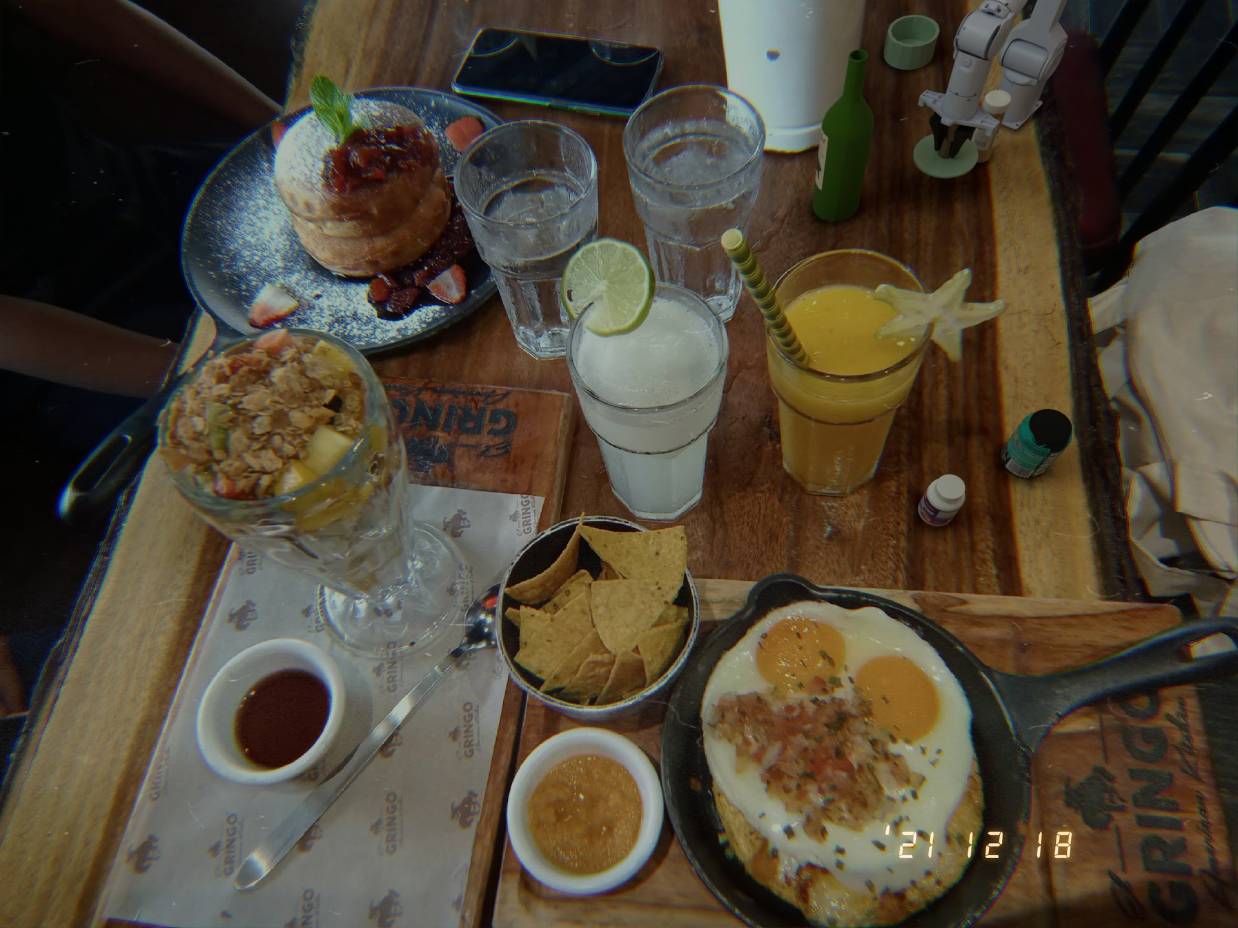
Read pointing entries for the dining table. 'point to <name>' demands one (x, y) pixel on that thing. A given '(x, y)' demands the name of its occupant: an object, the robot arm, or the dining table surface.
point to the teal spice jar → (1036, 443)
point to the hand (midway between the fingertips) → (946, 151)
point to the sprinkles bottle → (996, 107)
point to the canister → (911, 42)
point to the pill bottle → (942, 500)
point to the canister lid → (944, 157)
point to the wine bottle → (844, 147)
